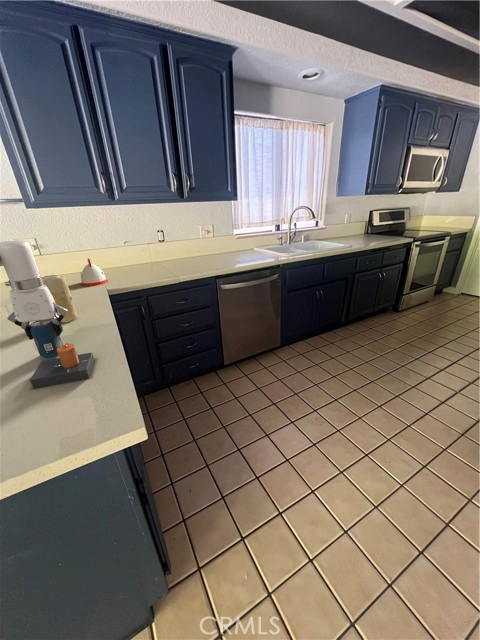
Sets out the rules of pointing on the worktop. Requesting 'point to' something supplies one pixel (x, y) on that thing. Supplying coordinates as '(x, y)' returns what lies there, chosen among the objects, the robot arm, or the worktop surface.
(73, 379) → the cooker panel
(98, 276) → the kitchen timer
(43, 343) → the soda can
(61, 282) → the food model
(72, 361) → the knob
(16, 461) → the worktop surface
